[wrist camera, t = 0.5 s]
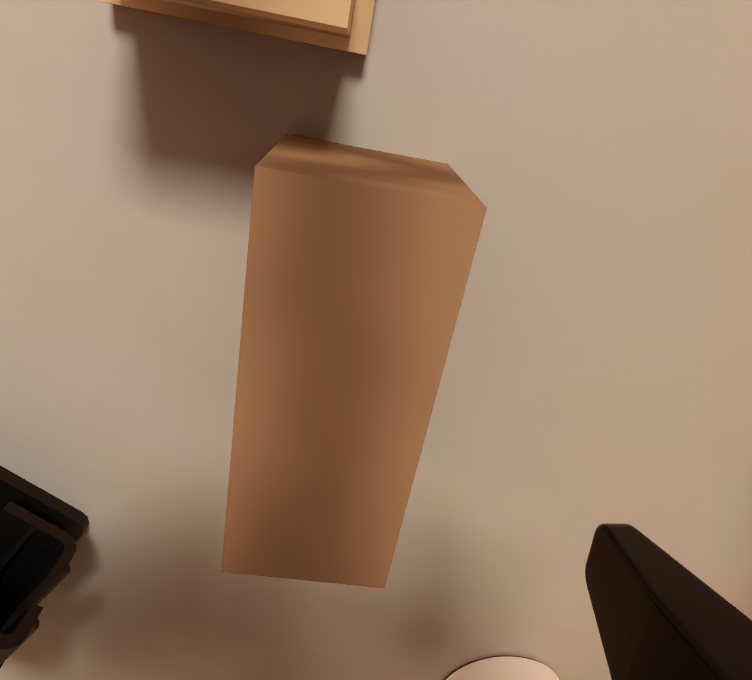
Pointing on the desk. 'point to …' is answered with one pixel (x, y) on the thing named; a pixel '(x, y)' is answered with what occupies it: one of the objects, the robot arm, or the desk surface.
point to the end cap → (31, 554)
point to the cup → (504, 670)
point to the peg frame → (278, 18)
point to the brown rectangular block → (340, 354)
